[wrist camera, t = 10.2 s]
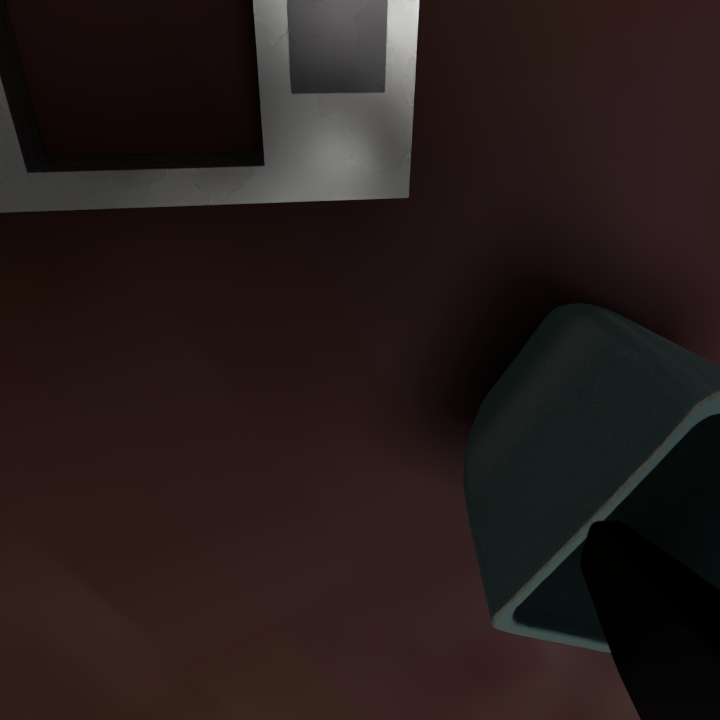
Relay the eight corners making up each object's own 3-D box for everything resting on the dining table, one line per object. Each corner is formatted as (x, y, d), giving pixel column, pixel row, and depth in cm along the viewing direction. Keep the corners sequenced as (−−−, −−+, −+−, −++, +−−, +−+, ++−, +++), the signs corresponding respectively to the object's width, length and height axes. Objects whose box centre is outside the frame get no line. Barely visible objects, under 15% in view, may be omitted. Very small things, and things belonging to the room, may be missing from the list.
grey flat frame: (-99, 198, 17) (-131, 218, 15) (-252, -186, 12) (-317, -208, 11) (397, 181, 19) (409, 198, 17) (412, -157, 14) (429, -172, 13)
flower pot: (574, 485, 27) (697, 677, 20) (411, 428, 24) (485, 632, 16) (713, 329, 24) (928, 491, 16) (543, 237, 20) (715, 388, 13)
